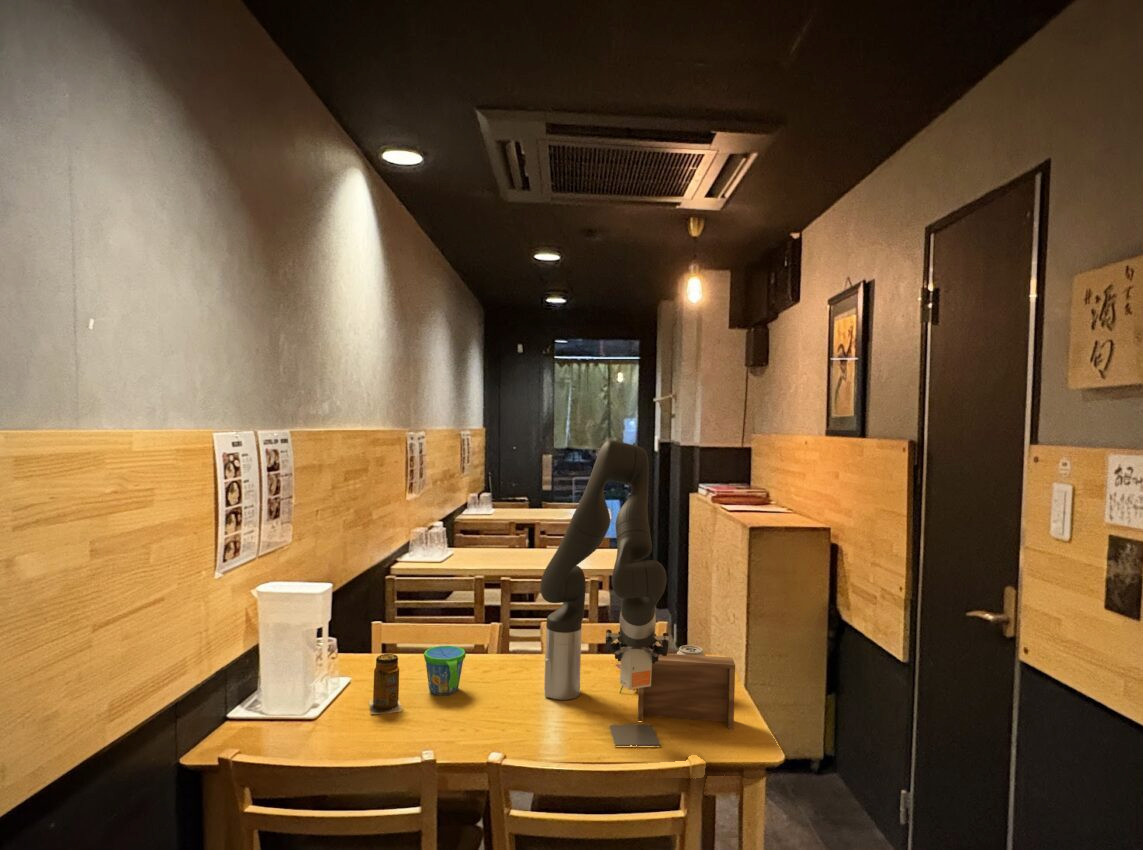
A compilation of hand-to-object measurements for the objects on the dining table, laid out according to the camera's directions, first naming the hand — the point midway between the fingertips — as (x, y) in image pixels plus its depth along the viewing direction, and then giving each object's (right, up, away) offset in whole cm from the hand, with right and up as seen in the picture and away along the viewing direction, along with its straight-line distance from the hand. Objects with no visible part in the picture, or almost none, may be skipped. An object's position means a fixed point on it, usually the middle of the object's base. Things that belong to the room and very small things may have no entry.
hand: (636, 658), depth 154 cm
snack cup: (-48, -16, +22) cm, 56 cm away
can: (+17, -18, +25) cm, 35 cm away
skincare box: (0, -6, -2) cm, 6 cm away
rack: (+12, -18, +8) cm, 23 cm away
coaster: (-1, -17, -2) cm, 17 cm away
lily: (+1, -18, +26) cm, 32 cm away
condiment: (-61, -16, +11) cm, 64 cm away
